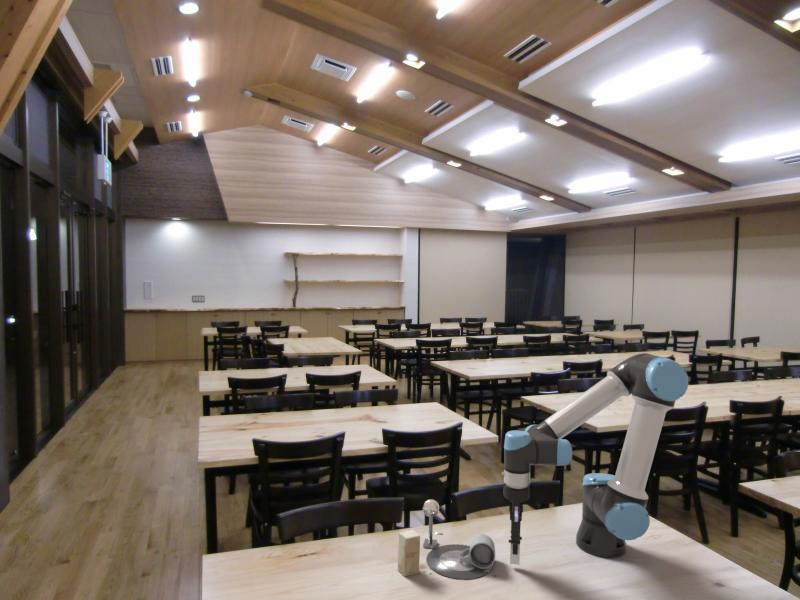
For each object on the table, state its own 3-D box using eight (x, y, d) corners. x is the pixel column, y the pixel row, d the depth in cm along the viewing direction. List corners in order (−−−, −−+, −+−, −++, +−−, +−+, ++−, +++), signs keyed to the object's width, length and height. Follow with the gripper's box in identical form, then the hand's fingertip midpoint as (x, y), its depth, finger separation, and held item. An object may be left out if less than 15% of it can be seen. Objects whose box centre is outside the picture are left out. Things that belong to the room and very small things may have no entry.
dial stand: (443, 543, 170) (444, 499, 170) (442, 549, 167) (442, 504, 166) (423, 541, 172) (424, 497, 171) (421, 547, 168) (422, 502, 168)
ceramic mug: (494, 556, 162) (494, 531, 162) (495, 570, 154) (495, 544, 154) (459, 553, 164) (460, 529, 163) (458, 567, 155) (459, 541, 155)
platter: (493, 549, 167) (493, 548, 167) (491, 583, 148) (491, 582, 148) (431, 542, 171) (431, 541, 171) (421, 574, 152) (421, 573, 152)
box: (404, 577, 150) (404, 538, 150) (397, 569, 154) (397, 532, 154) (420, 572, 153) (420, 535, 152) (412, 565, 157) (413, 528, 156)
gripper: (503, 475, 163) (502, 550, 163) (503, 491, 150) (501, 572, 151) (528, 477, 161) (526, 553, 162) (530, 493, 149) (528, 576, 149)
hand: (514, 562), depth 156 cm, fingers closed
